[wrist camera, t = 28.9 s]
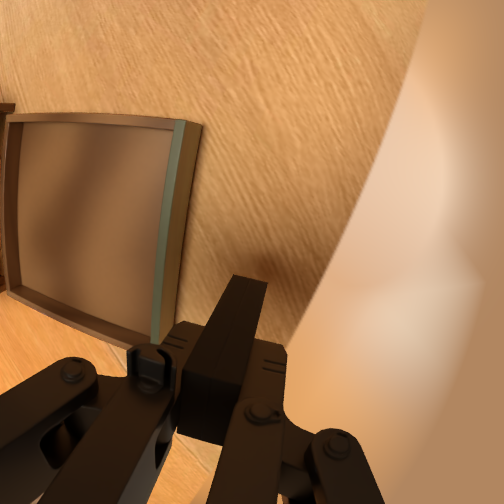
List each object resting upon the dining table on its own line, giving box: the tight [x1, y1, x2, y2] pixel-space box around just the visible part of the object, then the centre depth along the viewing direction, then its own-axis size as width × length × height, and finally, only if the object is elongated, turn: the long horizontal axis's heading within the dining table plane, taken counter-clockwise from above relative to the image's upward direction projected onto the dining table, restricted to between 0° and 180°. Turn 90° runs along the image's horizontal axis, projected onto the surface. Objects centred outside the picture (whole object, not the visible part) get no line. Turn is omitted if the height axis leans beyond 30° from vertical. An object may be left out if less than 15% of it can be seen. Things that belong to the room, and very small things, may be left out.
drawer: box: [0, 113, 202, 350], centre depth 18 cm, size 15×15×3 cm
